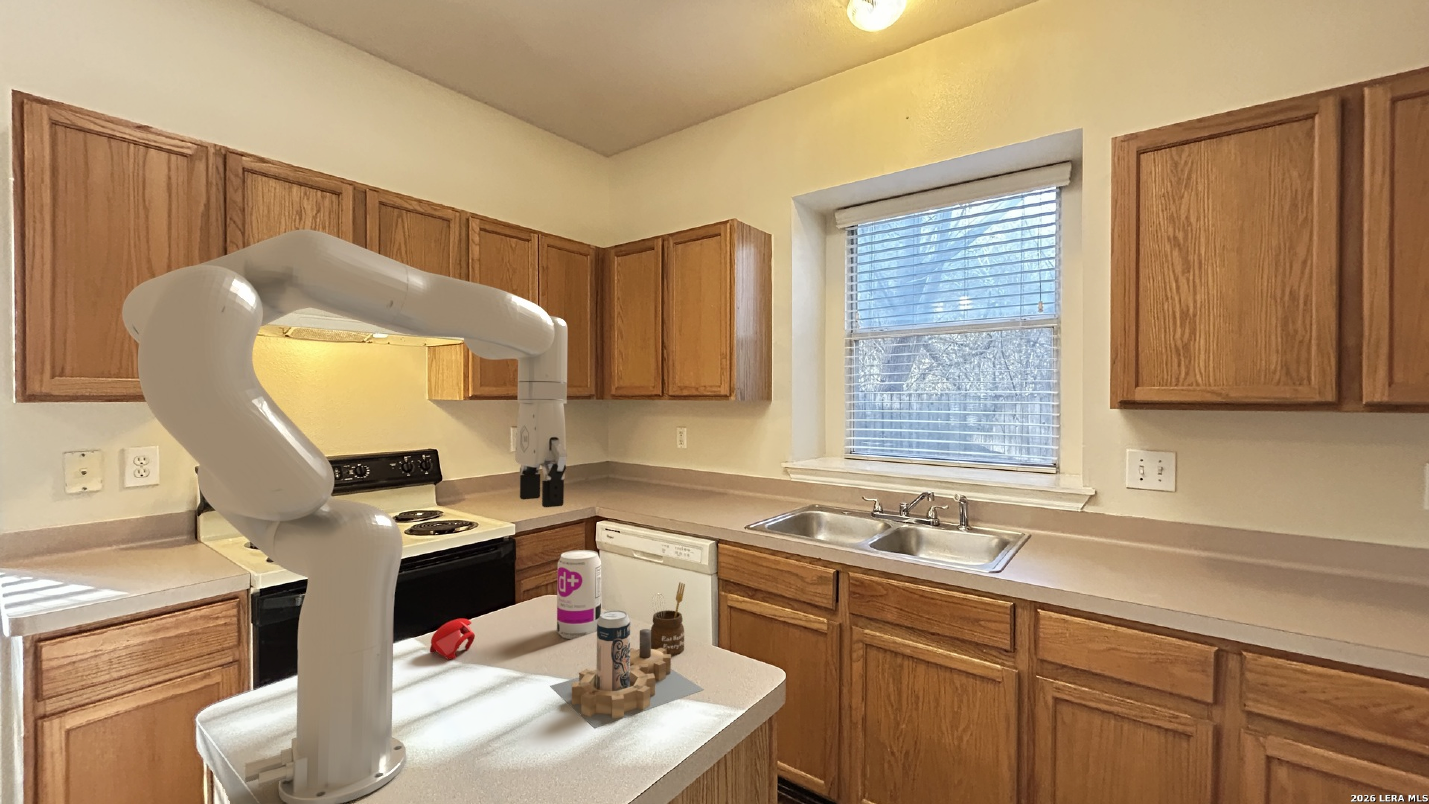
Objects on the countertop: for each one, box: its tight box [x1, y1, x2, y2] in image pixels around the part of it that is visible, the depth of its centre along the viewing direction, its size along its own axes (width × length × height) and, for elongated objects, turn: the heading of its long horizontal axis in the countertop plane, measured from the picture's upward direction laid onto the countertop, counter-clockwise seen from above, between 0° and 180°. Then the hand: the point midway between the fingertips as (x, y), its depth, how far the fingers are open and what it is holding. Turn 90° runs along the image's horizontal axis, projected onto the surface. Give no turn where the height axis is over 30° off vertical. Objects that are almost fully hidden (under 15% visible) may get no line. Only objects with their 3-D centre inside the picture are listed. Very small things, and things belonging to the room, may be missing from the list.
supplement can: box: [556, 549, 602, 640], centre depth 115 cm, size 8×8×15 cm
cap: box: [429, 618, 476, 660], centre depth 104 cm, size 8×6×6 cm
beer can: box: [595, 609, 631, 691], centre depth 87 cm, size 5×5×12 cm
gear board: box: [549, 668, 705, 729], centre depth 90 cm, size 18×15×1 cm
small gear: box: [630, 628, 672, 681], centre depth 95 cm, size 8×8×6 cm
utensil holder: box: [650, 581, 686, 657], centre depth 104 cm, size 6×6×12 cm
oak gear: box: [572, 664, 655, 718], centre depth 87 cm, size 12×12×2 cm
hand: (540, 502), depth 94 cm, fingers open, 9 cm apart
